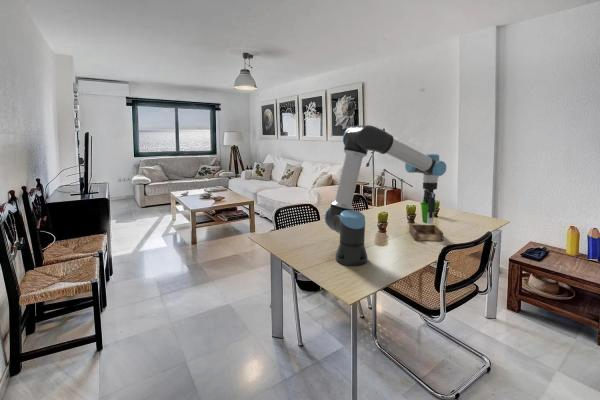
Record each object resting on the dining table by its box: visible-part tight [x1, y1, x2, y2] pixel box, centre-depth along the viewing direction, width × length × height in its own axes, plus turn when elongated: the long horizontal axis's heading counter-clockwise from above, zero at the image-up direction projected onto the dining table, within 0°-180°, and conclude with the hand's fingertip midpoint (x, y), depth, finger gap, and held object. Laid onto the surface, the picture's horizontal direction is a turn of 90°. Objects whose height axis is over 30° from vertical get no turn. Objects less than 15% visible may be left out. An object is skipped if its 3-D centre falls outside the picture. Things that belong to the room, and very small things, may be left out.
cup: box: [420, 201, 438, 225], centre depth 185 cm, size 9×9×11 cm
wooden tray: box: [408, 223, 444, 242], centre depth 190 cm, size 15×16×5 cm
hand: (427, 220), depth 186 cm, fingers closed on cup, 9 cm apart
